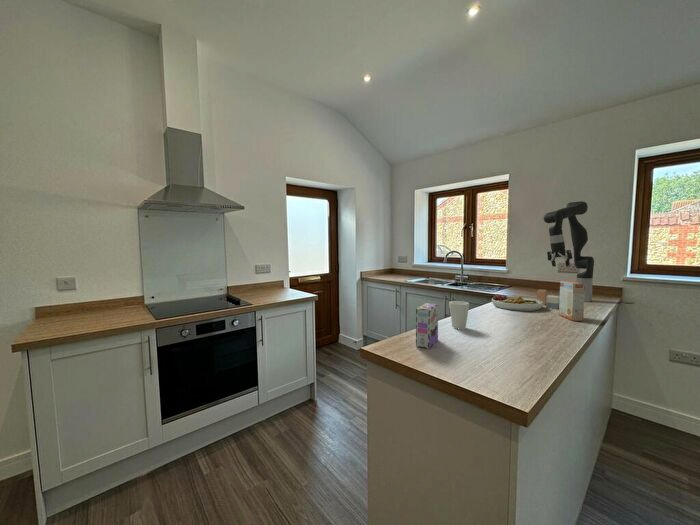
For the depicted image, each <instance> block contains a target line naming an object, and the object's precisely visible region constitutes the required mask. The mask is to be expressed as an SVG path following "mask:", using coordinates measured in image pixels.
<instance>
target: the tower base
mask: <svg viewBox="0 0 700 525" xmlns="http://www.w3.org/2000/svg"><path fill="white" fill-rule="evenodd" d="M559 304H560V302H559V303H548V302H546V305H545V308H546V309H550V308H552V309H551V310H559V309H558V308H559Z"/></svg>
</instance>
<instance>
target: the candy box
mask: <svg viewBox="0 0 700 525" xmlns="http://www.w3.org/2000/svg"><path fill="white" fill-rule="evenodd" d="M438 340H439V304H438V303H430V302H429V303H427V302H425V303H424V304H422V305H421V306H418V307H417V308H415V347H416V348H417V347H418V348H423V349H426V350H427V349H430V348H432V346H434V344H435V343H437V341H438Z"/></svg>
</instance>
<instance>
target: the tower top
mask: <svg viewBox="0 0 700 525" xmlns="http://www.w3.org/2000/svg"><path fill="white" fill-rule="evenodd" d="M546 302H548V303H559V302H560V295H552V294H551V295H550V294H549V295H547V299H546Z"/></svg>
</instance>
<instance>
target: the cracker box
mask: <svg viewBox="0 0 700 525" xmlns="http://www.w3.org/2000/svg"><path fill="white" fill-rule="evenodd" d="M584 290H585V284H582V283H578V282H577V281H572V280H560V281H559V296H560V304H559V309H558V310H559V311H558V315H559V316H560V317H563V318H565V319H567V320H570V321H572V322H584V312H585V310H584V307H585V302H584Z"/></svg>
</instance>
